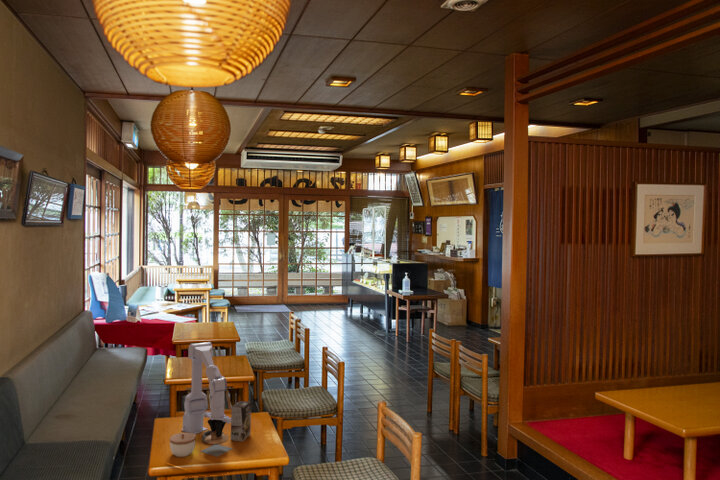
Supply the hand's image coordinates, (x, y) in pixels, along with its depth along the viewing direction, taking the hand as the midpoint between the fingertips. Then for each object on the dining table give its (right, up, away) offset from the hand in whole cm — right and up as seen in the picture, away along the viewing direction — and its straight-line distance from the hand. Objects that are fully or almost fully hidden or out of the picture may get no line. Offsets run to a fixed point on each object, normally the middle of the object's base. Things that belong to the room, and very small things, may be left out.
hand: (216, 435), depth 243 cm
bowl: (-5, -6, +12) cm, 14 cm away
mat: (0, -7, 0) cm, 7 cm away
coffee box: (+7, -7, +16) cm, 18 cm away
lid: (0, -2, 0) cm, 2 cm away
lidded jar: (-14, -7, -5) cm, 16 cm away
